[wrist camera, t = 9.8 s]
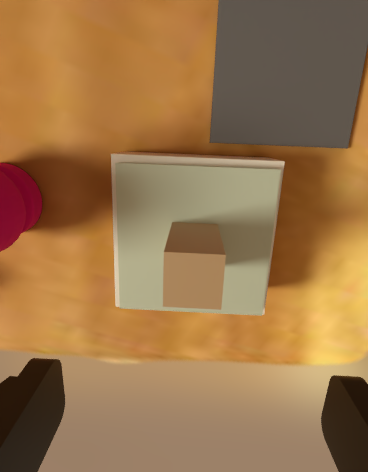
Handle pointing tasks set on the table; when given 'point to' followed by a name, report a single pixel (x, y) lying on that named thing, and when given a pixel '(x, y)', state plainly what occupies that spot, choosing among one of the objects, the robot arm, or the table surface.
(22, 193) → the pepper mill
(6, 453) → the robot arm
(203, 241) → the lid
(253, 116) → the mat
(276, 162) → the dish
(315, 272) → the table surface
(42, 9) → the table surface
